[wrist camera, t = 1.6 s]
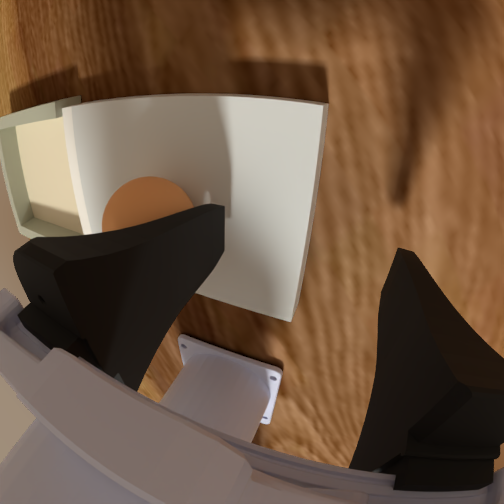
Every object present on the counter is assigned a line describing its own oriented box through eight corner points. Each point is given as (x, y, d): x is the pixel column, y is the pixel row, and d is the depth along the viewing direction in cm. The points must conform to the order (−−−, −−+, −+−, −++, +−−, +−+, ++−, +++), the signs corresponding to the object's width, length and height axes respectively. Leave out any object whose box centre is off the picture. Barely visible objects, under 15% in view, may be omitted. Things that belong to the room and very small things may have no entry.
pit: (104, 249, 20) (86, 264, 18) (34, 223, 23) (19, 233, 21) (80, 95, 13) (54, 101, 12) (12, 112, 16) (-6, 119, 15)
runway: (298, 302, 16) (291, 322, 14) (103, 243, 19) (89, 254, 18) (328, 103, 10) (323, 105, 9) (81, 103, 14) (62, 107, 13)
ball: (215, 252, 14) (166, 307, 11) (148, 234, 15) (95, 277, 12) (214, 169, 12) (151, 209, 8) (139, 160, 13) (73, 192, 10)
